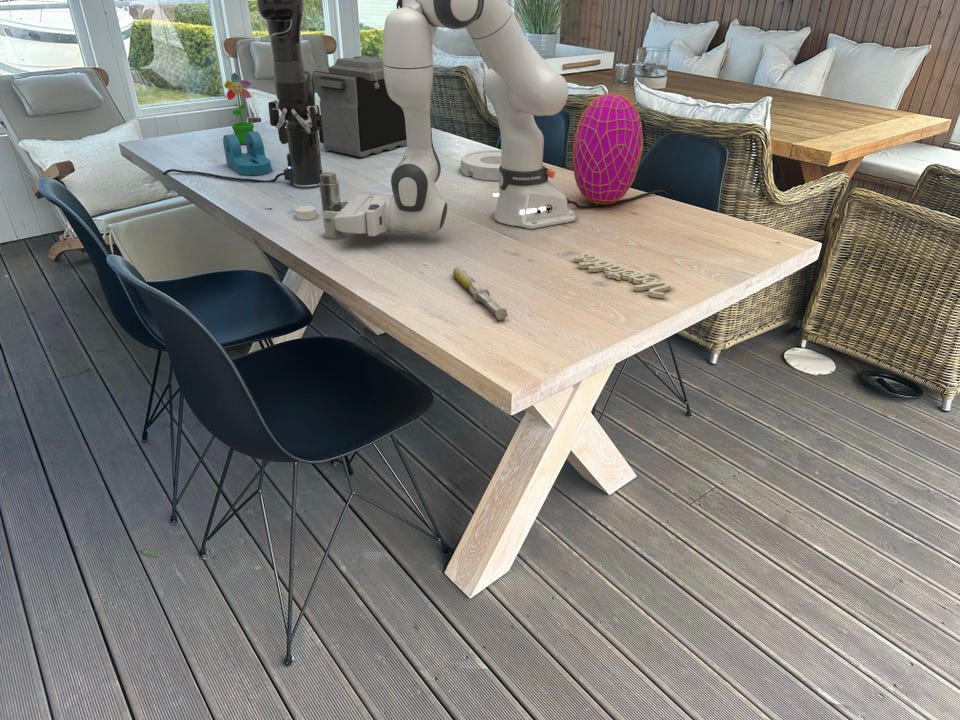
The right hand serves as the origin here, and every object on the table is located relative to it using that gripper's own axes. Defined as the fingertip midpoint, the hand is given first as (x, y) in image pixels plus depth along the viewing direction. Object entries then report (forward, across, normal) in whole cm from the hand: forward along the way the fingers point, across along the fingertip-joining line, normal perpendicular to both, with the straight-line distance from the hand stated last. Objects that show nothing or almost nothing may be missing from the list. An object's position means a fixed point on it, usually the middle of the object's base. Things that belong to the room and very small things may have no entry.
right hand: (328, 209), depth 173 cm
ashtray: (-35, -68, +7) cm, 76 cm away
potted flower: (+63, -91, +7) cm, 111 cm away
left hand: (+11, -13, -12) cm, 21 cm away
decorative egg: (-69, -38, +7) cm, 80 cm away
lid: (+11, -13, +5) cm, 18 cm away
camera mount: (+46, -57, +7) cm, 73 cm away
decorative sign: (-73, +14, +7) cm, 75 cm away
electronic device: (+15, -94, +7) cm, 96 cm away
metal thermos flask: (-1, 0, +7) cm, 7 cm away
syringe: (-42, +31, +7) cm, 53 cm away
